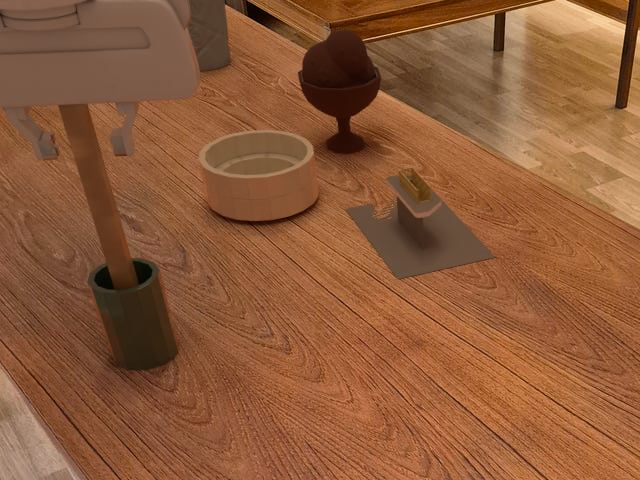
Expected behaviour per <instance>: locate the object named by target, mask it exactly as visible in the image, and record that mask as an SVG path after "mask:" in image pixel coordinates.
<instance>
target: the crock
mask: <svg viewBox="0 0 640 480" xmlns="http://www.w3.org/2000/svg"><path fill="white" fill-rule="evenodd" d="M131 258H132V262H133V265H134V269H135V272H136V276H137V279H138V283H139V285H138V286H136V287H134V288H129V289H123V290H115V289H114V285H113V282H112V279H111V276H110V272H109V269H108V266H107V263H106V262H104V263H102V264H100V265H98V266H96V267H95V268H93V270H92V271H90V272H89V273H88V277H87V280H86V283H87V286H88V289H89V292H90V295H91V298H92V301H93V305H94V307H95V308H94V309H95V310H96V314H97V316H98V320H99V324H100V325H101V328H102V332H103V334H104V335H103V336H104V338H105V341H106V344H107V347H108V350H109V353H110V356H111V358H112V360H113V361H114V363H115V364H116V365H117V366H119V367H121V368H122V369H124V370H129V371H148V370H152V369H156V368H159V367H162V366H164V365H166V364H167V363H169V362H171V361H172V360H173V359H174V358H175V357H176V356H177V354H178V353H179V349H180V342H179V338H178V334H177V330H176V326H175V323H174V319H173V314H172V312H171V307H170V303H169V301H168V297H167V292H166V289H165V285H164V282H163V277H162V272H161V270H160V268H159V267H158V265H157V264H156V263H155V262H154V261H151V260H149V259H145V258H143V257H131Z"/></svg>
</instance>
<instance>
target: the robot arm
mask: <svg viewBox="0 0 640 480" xmlns="http://www.w3.org/2000/svg"><path fill="white" fill-rule="evenodd" d="M190 18H191V10H190V5H189V0H0V109H4V112H5V115H6V118H7V120H8V122H9V123H10V125H12V126H13V127H14V128H15V129H16V130H17V131H18V132H19V133H20V134H21V135H22V136H23V137H24V138H25V139H27V140H28V142H30V143H31V146H32V148H33V152H34V155H35V158H36V159H37V161H38V162H40V161H42V162H43V161H44V162H45V161H56V160H59V157H60V155H61V153H60V151H61V150H60V147H59V144H58V143H57V142H56V141H57V137H56V134H55V131H52V130H51V131H44V130H43V129H42V128H41V127H40V126H39V125H38V124H37V122H35V120H34V119H33V118H32V117H31V116H30V115H29V114H30V112H31V110H32V107H44V106H45V107H48V106H49V107H50V106H51V107H53V106H58V105H74V104H88V105H92V104H93V105H94V104H114V105H115V108H116V112H117V115H119V116H125V117H124V121H123V123H122V127H115V128H114V127H113V128H112V129H111V131H110V132H111V133H110V134H109V140H110V144H111V146H112V147H113V150H112V151H113V155H114V157H134V156H135V153H136V143H135V139H134V136H133V132H132V130H133V126H134V123H135V121H136V118H137V115H138V111H139V107H140V103H139V102H158V101H159V102H160V101H180V100H182V101H185V100H190V99H191V98H193V97H194V95H195V93H196V92H197V90H198V88H199V86H200V83H201V71H200V70H199V65H198V61H197V57H196V53H195V50H194V46H193V43H192V40H191V37H190V34H189V31H188V28H187V26H188V24H189V22H190Z"/></svg>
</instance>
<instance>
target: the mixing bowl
mask: <svg viewBox="0 0 640 480" xmlns="http://www.w3.org/2000/svg"><path fill="white" fill-rule="evenodd" d="M198 166H199V170H200V175H201V179H202V185H203V189H204V194H205V199H206V203H207V205H208V206H209V208H210V209H211V210H212V211H214V212H216V213H217V214H219V215H220V216H222V217H225V218H228V219H231V220H232V219H233V220H237V221H246V222H247V221H249V222H261V221H274V220H278V219H279V220H280V219H283V218H287V217H288V218H289V217H291V216H293V215H296V214H299V213H301V212H303V211H306V210H307V209H308V208H310V207H311V206H312V205H313V204H315V202H316V200H317V199H318V198H319V195H320V194H319V184H318V183H319V182H318V174H317V165H316V157H315V148H314V145H313V144H312V143H311V142H310V141H309V140H308V139H307V138H305V137H303V136H302V135H299V134H296V133H292V132H288V131H284V130H274V129H256V130H255V129H253V130H245V131H240V132H234V133H230V134H226V135H224V136H220V137H217V138H215V139H214V140H212V141H210V142H208V143H207V144H205V145H204V146H203V148H202V149H201V150H200V151H199V152H198Z"/></svg>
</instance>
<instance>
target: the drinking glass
mask: <svg viewBox="0 0 640 480" xmlns="http://www.w3.org/2000/svg"><path fill="white" fill-rule="evenodd" d="M189 5H190V10H191V18H190V22H189V24H188V26H187V28H188V31H189V34H190V37H191V40H192V43H193V46H194V50H195V53H196V57H197V61H198V65H199V70H200V72H208V71H215V70H218V69H222V68H225V67H227V66H228V65H230V63H231V60H232V59H231V49H230V48H231V47H230V43H229V39H230V38H229V30H228V20H227V10H226V0H189Z"/></svg>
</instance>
